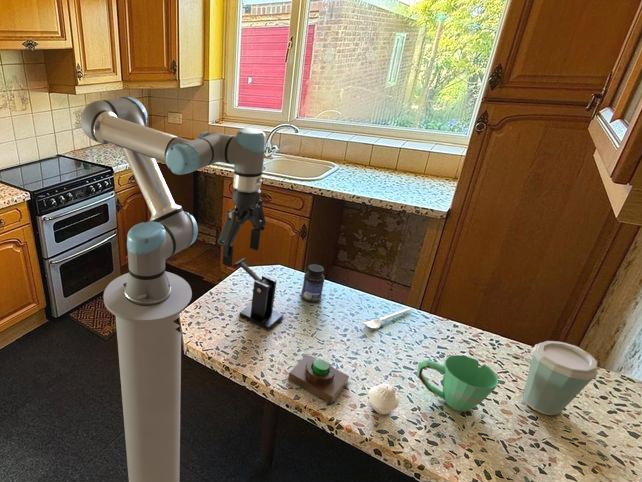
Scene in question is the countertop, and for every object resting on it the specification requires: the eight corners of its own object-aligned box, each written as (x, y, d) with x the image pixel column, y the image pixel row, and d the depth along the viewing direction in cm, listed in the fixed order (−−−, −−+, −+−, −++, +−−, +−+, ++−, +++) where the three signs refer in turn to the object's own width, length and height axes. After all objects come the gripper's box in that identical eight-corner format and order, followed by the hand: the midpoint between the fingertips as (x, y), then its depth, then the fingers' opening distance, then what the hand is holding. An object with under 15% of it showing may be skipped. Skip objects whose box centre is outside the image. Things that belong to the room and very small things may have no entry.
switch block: (288, 379, 98) (290, 366, 96) (305, 360, 104) (308, 348, 102) (331, 404, 91) (334, 391, 89) (347, 382, 97) (350, 370, 95)
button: (309, 370, 96) (310, 364, 95) (316, 362, 98) (317, 356, 97) (323, 377, 94) (325, 372, 93) (330, 369, 96) (331, 364, 95)
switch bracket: (239, 315, 121) (242, 279, 115) (254, 304, 126) (258, 269, 120) (268, 330, 114) (273, 293, 109) (282, 318, 120) (288, 282, 114)
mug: (477, 394, 94) (492, 362, 89) (487, 427, 86) (504, 394, 81) (407, 375, 99) (418, 344, 95) (410, 405, 91) (422, 372, 87)
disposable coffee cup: (534, 423, 87) (564, 371, 80) (498, 385, 97) (523, 336, 90) (583, 423, 87) (617, 372, 80) (542, 385, 97) (570, 336, 90)
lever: (232, 266, 118) (235, 261, 117) (241, 260, 122) (245, 255, 120) (261, 295, 114) (265, 290, 112) (271, 288, 117) (274, 283, 115)
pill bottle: (324, 301, 127) (330, 271, 122) (307, 304, 126) (312, 274, 121) (313, 290, 133) (319, 262, 128) (297, 293, 131) (302, 264, 126)
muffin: (381, 395, 94) (388, 373, 90) (401, 416, 88) (409, 393, 85) (359, 401, 92) (365, 378, 89) (377, 423, 87) (385, 400, 84)
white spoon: (414, 313, 122) (415, 308, 121) (367, 332, 114) (369, 327, 113) (404, 307, 124) (406, 303, 123) (358, 325, 116) (360, 320, 116)
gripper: (230, 204, 98) (225, 277, 107) (282, 181, 114) (274, 246, 124) (206, 196, 103) (204, 267, 112) (260, 175, 119) (254, 239, 128)
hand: (241, 256), depth 118 cm, fingers open, 13 cm apart
